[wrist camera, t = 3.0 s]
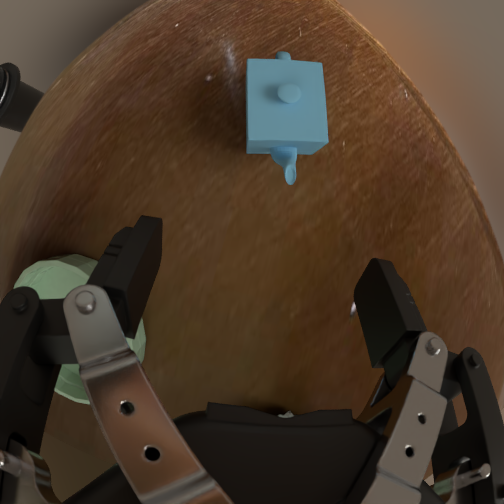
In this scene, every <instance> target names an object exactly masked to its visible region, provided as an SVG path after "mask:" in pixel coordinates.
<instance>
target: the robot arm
mask: <svg viewBox="0 0 504 504" xmlns="http://www.w3.org/2000/svg"><path fill="white" fill-rule="evenodd" d="M10 84H11V75H10V72H9V71H8V70H6V69H4V68H1V67H0V109H1V108H2V106H3V104H4V102H5V100H6V98H7V95H8V92H9V89H10ZM162 224H163V223H162V218H156V217H150V216H144V215H141V216H140V218H139V220H138V221H137V223H136V225H135V226H134V228H131V227H125V228H123V229H122V230H120V231H119V232H117V233H116V234H115V235H114V237H113V238H112V240H111V242H110V243H109V246H107V248H106V250H105V251H104V254H103V255H102V256H101V258H100V260H99V261H98V263H97V265H96V266H95V268H94V270H93V272H92V273H91V275H90V277H89V279H88V281H87V282H86V284H85V285H80V286H78V287H75V288H74V289H72V290H71V291H70V292H69V293H68V294H67V295H66V297H65V298H59V299H40V298H39V295H38V293H37V291H36V290H35V289H33V288H31V287H28V286H21V287H17V288H15V289H13V290H11V291H10V292H9V293H8V294H7V295H6V296H5V297H4V299H3V301H2V302H1V304H0V504H504V424H503V420H502V416H501V413H500V409H499V405H498V402H497V399H496V395H495V392H494V389H493V386H492V383H491V380H490V377H489V374H488V371H487V368H486V366H485V363H484V361H483V358H482V357H481V355H480V354H479V353H478V352H477V351H476V350H475V349H473V348H471V347H466V348H465V349H464V350H463V351H462V352H461V353H460V354H459V355H458V354H455V353H452V352H449V351H447V347H446V345H445V343H444V341H443V340H442V339H441V338H440V337H439V336H438V335H437V334H435V333H433V332H430V331H427V329H426V327H425V324H424V322H423V319H422V317H421V315H420V312H419V310H418V308H417V306H416V304H415V301H414V299H413V297H412V296H411V293H410V290H409V288H408V286H407V284H406V283H405V282H404V281H403V280H402V278H401V277H400V276H399V275H398V274H397V272H396V270H395V268H394V265H393V264H392V262H391V261H388V260H383V259H378V258H373V259H371V260H370V262H369V264H368V265H367V267H366V269H365V271H364V272H363V274H362V276H361V278H360V279H359V281H358V283H357V285H356V287H355V290H354V302H355V305H356V309H357V312H358V316H359V319H360V323H361V326H362V330H363V334H364V337H365V341H366V345H367V349H368V353H369V357H370V361H371V365H372V368H384V371H385V372H384V373H383V374H382V375H381V376H380V378H379V380H378V382H377V384H376V386H375V388H374V390H373V392H372V394H371V396H370V398H369V400H368V402H367V404H366V406H365V408H364V410H363V411H362V413H361V414H360V415H359V416H358V418H357V419H353V417H352V410H351V409H342V410H318V411H314V412H310V413H306V414H302V415H297V416H293V417H288V418H283V417H279V416H275V415H272V414H268V413H265V412H262V411H259V410H256V409H252V408H249V407H246V406H236V405H227V404H219V403H211V402H208V404H207V409H206V410H205V411H197V412H192V413H188V414H185V415H182V416H179V417H177V418H175V419H171V417H170V415H169V414H168V412H167V410H166V409H165V407H164V405H163V404H162V402H161V400H160V398H159V396H158V395H157V393H156V391H155V389H154V387H153V386H152V384H151V382H150V380H149V378H148V376H147V374H146V372H145V370H144V368H143V367H142V365H141V363H140V361H139V359H138V357H137V355H136V353H135V352H134V350H131V348H130V346H129V344H128V342H127V340H126V338H130V339H134V340H135V336H136V333H137V330H138V327H139V324H140V321H141V318H142V315H143V312H144V309H145V306H146V303H147V300H148V297H149V295H150V292H151V289H152V286H153V283H154V281H155V278H156V275H157V273H158V270H159V267H160V263H161V256H162ZM125 337H126V338H125ZM62 364H79V367H80V368H79V374H80V378H81V381H82V383H83V386H84V389H85V392H86V394H87V397H88V399H89V402H90V405H91V407H92V409H93V412H94V414H95V417H96V419H97V421H98V424H99V426H100V428H101V430H102V432H103V435H104V437H105V439H106V441H107V443H108V445H109V447H110V449H111V451H112V453H113V455H114V457H115V459H116V461H117V463H116V464H115V465H113V466H112V467H111V468H110V469H108V470H107V471H105V472H104V473H103V474H101V475H100V476H99V477H97V478H96V479H95V480H93V481H92V482H91V483H89V484H88V485H86V486H85V487H84V488H82V489H81V490H79V491H78V492H77V493H75V494H74V495H72V496H71V497H69V498H68V499H67V500H65V501H64V502H63V503H61V502H60V501H59V499H58V498H57V497H56V496H55V494H54V492H53V489H52V486H51V474H50V470H49V467H48V465H47V463H46V462H45V460H44V459H43V458H42V457H41V456H40V455H39V453H40V447H41V442H42V437H43V433H44V428H45V424H46V420H47V416H48V412H49V408H50V404H51V400H52V397H53V393H54V390H55V386H56V383H57V379H58V376H59V373H60V370H61V367H62ZM460 393H462V394H463V398H464V402H465V405H466V409H467V419H466V421H465V423H464V424H463V425H461V426H460V427H458V423H457V419H456V415H455V410H454V406H453V402H452V399H454V398H455V397H456V396H458V395H459V394H460ZM430 459H432V467H433V476H434V484H433V485H431V486H429V485H428V484H427V483H426V482H425V481H424V480H423V477H424V474H425V472H426V469H427V467H428V464H429V461H430Z"/></svg>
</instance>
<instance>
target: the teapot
mask: <svg viewBox="0 0 504 504" xmlns="http://www.w3.org/2000/svg"><path fill="white" fill-rule="evenodd" d="M327 143H328V128H327V112H326V99H325V88H324V78H323V68H322V63H317V62H307V61H296V60H291V57H290V54H289V53H287V52H277V53H276V58H275V59H247V67H246V148H247V154H271V157H272V159H273V160H274V161H275V162H276V163H277V164H279V165H281V166H282V167H283V169H284V175H285V179H286V182H287V183H288V184H289V185H292V184H293V183H294V182H295V179H296V167H295V162H296V158H297V154H308V155H312V154H313V153H315V152H316V151H318V150H319V149H320V148H322V147H323V146H324V145H326V144H327Z"/></svg>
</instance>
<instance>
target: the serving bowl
mask: <svg viewBox="0 0 504 504" xmlns="http://www.w3.org/2000/svg"><path fill="white" fill-rule="evenodd" d="M97 263H98V261H96V260H94V259H91V258H87V257H84V256H81V255H78V254H67V255H57V256H54V257H51V258H47V259H44V260H41V261H38V262H36V263H35V264H33V265H31V266H30V267H28V268H26V269H25V270H24V271H23V272H22V274H21V275H20V277H19V279H18V280H17V282H16V283H15V285H14V289H15V288H17V287H21V286H28V287H31V288H33V289H35V290H36V291H37V293H38V295H39V298H40V299H59V298H65V297H66V295H67V294H68V293H69V292H70V291H71V290H72V289H74V288H75V287H78V286H80V285H85V284H86V282H87V281H88V279H89V277H90V275H91V273H92V272H93V270H94V268H95V266H96V265H97ZM125 338H126V337H125ZM126 340H127V342H128V344H129V346H130V348H131V350H134V352H135V353H136V355H137V357H138V359H139V361H140V363H142V361H143V359H144V352H145V344H146V336H145V331H144V326H143V320H142V318H141V321H140V324H139V327H138V330H137V333H136V336H135V340H134V339H130V338H126ZM79 368H80V367H79V364H62V367H61V370H60V373H59V376H58V379H57V383H56V386H55V391H56V392H57V393H59V394H61V395H63V396H65V397H67V398H69V399H71V400H73V401H75V402H80V403H85V404H90V402H89V399H88V397H87V394H86V392H85V389H84V386H83V383H82V381H81V378H80V374H79Z"/></svg>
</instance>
